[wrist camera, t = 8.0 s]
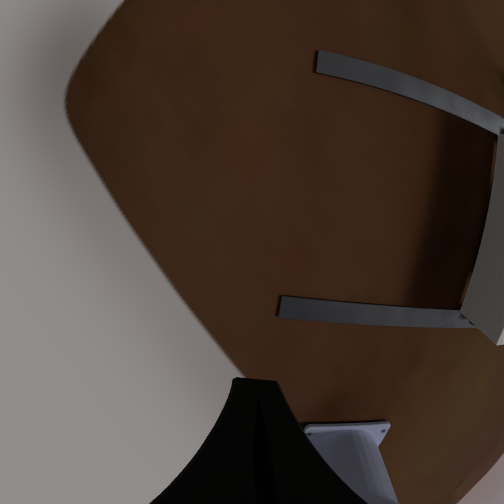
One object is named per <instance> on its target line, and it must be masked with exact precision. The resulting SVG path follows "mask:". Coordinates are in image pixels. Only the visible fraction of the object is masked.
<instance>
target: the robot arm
mask: <svg viewBox="0 0 504 504" xmlns="http://www.w3.org/2000/svg"><path fill="white" fill-rule="evenodd" d="M389 428H390V423H389V422H388V421H382V422H368V423H347V424H309V425H307V426H305V428H304V430H303V429H302V427H301V426H300V424H299V422H298V421H297V419H296V417H295V416H294V414H293V412H292V410H291V408H290V406H289V405H288V403H287V401H286V399H285V397H284V394H283V392H282V390H281V388H280V385H279V384H278V382H277V381H271V380H259V379H249V378H239V377H236V378H234V379H233V380H232V386H231V390H230V393H229V396H228V399H227V401H226V403H225V406H224V408H223V410H222V412H221V414H220V416H219V418H218V420H217V421H216V423H215V425H214V427H213V428H212V430H211V432H210V433H209V435H208V436H207V438H206V440H205V441H204V443H203V444H202V446H201V447H200V449H199V450H198V452H197V453H196V454H195V456H194V457H193V458H192V459H191V461H190V462H189V463H188V464H187V466H186V467H185V468H184V469H183V470H182V472H181V473H180V474H179V475H178V476H177V477H176V478H175V479H174V480H173V481H172V483H171V484H170V485H169V486H168V487H167V488H166V489H165V490H164V491H163V492H162V493H161V494H160V495H159V496H157V497H156V498H155V499H154V500H153V501H152V502H151V503H150V504H400V503H398V501H397V498H396V495H395V493H394V490H393V487H392V484H391V481H390V479H389V476H388V473H387V470H386V468H385V465H384V462H383V459H382V457H381V454H380V451H379V449H378V446H379V444H380V443H381V441H382V439H383V438H384V436H385V434H386V433H387V431H388V429H389Z"/></svg>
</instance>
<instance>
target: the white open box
mask: <svg viewBox="0 0 504 504" xmlns="http://www.w3.org/2000/svg"><path fill="white" fill-rule="evenodd" d="M460 313H462V314H463V315H464V316H465V317H466V318H467V319H468V320H469V323H470V324H472V325H474V326H476V327H477V328H478V329H480V330H481V331H482V332H483V333H484V334H485V335H486V336H487V337H488V338H489V339H490V340H492V341H493V342H494V343H495V344H496V345H503V344H504V134H498V143H497V154H496V163H495V171H494V178H493V185H492V191H491V197H490V203H489V208H488V213H487V218H486V223H485V228H484V232H483V236H482V240H481V244H480V248H479V252H478V256H477V259H476V263H475V267H474V270H473V273H472V277H471V280H470V283H469V286H468V289H467V292H466V295H465V298H464V301H463V304H462V307H461V310H460Z"/></svg>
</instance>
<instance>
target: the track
mask: <svg viewBox="0 0 504 504" xmlns="http://www.w3.org/2000/svg"><path fill="white" fill-rule="evenodd" d="M316 73H319V74H324V75H328V76H333V77H337V78H341V79H345V80H350V81H354V82H357V83H361V84H365V85H369V86H372V87H376V88H379V89H382V90H386V91H389V92H392V93H395V94H398V95H401V96H404V97H407V98H410V99H413V100H416V101H419V102H422V103H424V104H427V105H430V106H432V107H435V108H438V109H440V110H443V111H445V112H448V113H450V114H452V115H455V116H457V117H459V118H462V119H464V120H466V121H469V122H471V123H473V124H475V125H477V126H479V127H481V128H484V129H486V130H488V131H490V132H492V133H494V134H496V135H498V134H504V119H503V118H502V117H500V116H498V115H496V114H494V113H492V112H491V111H489V110H487V109H485V108H483V107H481V106H479V105H477V104H475V103H473V102H471V101H469V100H467V99H465V98H463V97H460V96H458V95H456V94H454V93H452V92H449V91H447V90H445V89H442V88H440V87H438V86H435V85H433V84H430V83H428V82H425V81H423V80H420V79H417V78H415V77H412V76H409V75H407V74H404V73H401V72H398V71H395V70H392V69H389V68H386V67H383V66H379V65H376V64H373V63H369V62H366V61H362V60H359V59H355V58H351V57H347V56H343V55H339V54H335V53H331V52H326V51H322V50H318V58H317V66H316ZM278 318H288V319H299V320H310V321H322V322H335V323H349V324H365V325H383V326H405V327H439V328H477V327H476V326H474V325H472V324H470V323H469V320H468V319H467V318H466V317H465V316H464V315H463V314H462V313H460V310H456V309H438V308H422V307H407V306H393V305H380V304H368V303H356V302H345V301H334V300H324V299H313V298H304V297H294V296H285V295H282V299H281V304H280V310H279V315H278Z"/></svg>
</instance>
